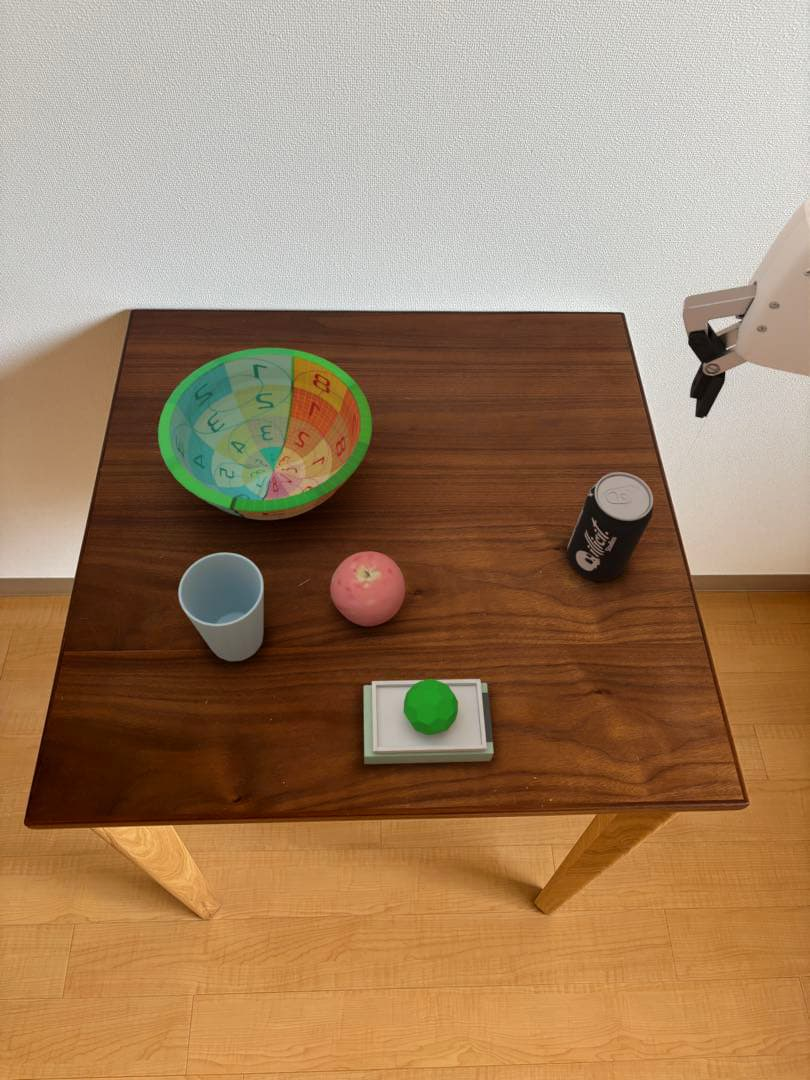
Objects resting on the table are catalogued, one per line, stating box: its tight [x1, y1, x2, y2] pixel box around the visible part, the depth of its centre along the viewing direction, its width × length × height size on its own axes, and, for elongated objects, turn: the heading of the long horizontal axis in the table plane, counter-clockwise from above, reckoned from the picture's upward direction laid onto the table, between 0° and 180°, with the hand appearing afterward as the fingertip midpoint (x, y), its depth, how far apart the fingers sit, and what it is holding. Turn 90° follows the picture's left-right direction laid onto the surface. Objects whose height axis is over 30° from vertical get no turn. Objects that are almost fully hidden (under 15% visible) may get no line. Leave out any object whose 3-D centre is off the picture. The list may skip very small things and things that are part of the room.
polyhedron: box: [403, 678, 458, 735], centre depth 74 cm, size 5×5×5 cm
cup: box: [178, 552, 265, 662], centre depth 79 cm, size 8×8×10 cm
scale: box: [363, 678, 495, 765], centre depth 77 cm, size 12×7×4 cm, turn 92°
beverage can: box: [566, 471, 654, 582], centre depth 85 cm, size 7×7×12 cm
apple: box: [329, 550, 406, 627], centre depth 82 cm, size 7×7×8 cm
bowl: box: [157, 347, 373, 521], centre depth 90 cm, size 22×22×10 cm
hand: (769, 418), depth 58 cm, fingers open, 9 cm apart
